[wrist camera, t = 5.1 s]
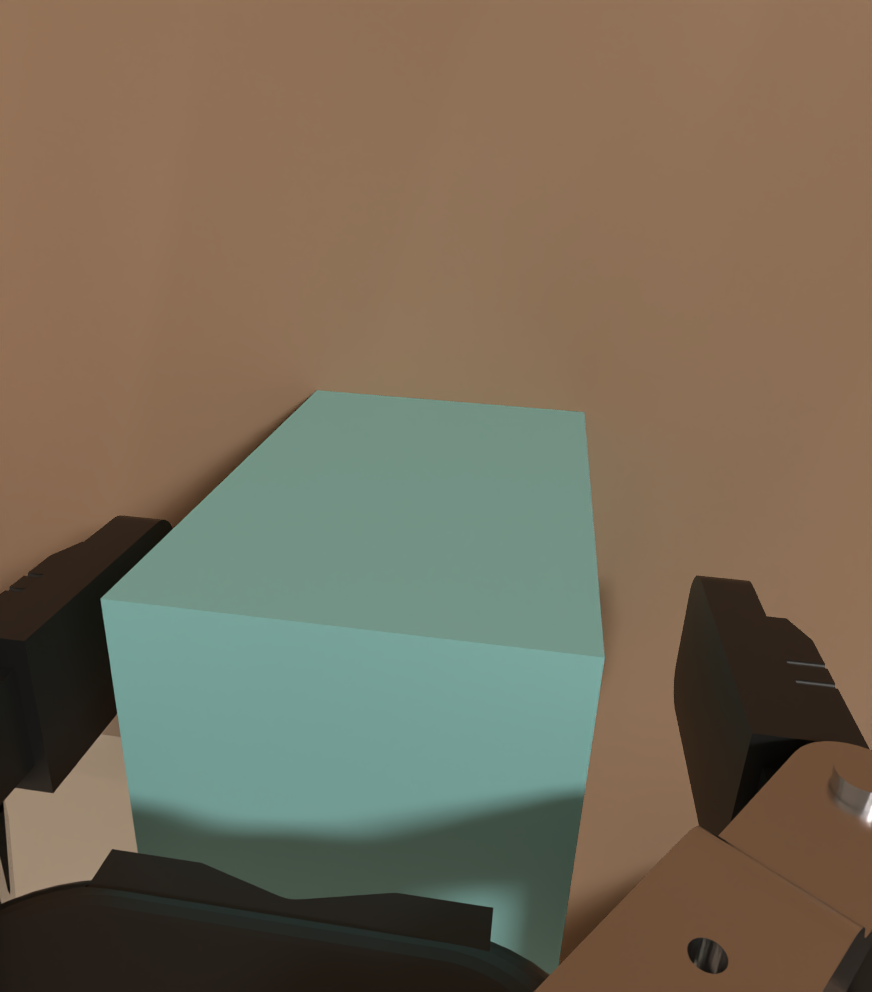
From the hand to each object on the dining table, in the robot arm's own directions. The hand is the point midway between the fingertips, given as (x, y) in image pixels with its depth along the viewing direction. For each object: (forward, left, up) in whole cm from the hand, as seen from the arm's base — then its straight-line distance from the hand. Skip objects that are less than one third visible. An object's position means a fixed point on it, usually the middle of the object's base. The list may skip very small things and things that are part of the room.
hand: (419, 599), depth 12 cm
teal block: (0, 0, -2) cm, 2 cm away
